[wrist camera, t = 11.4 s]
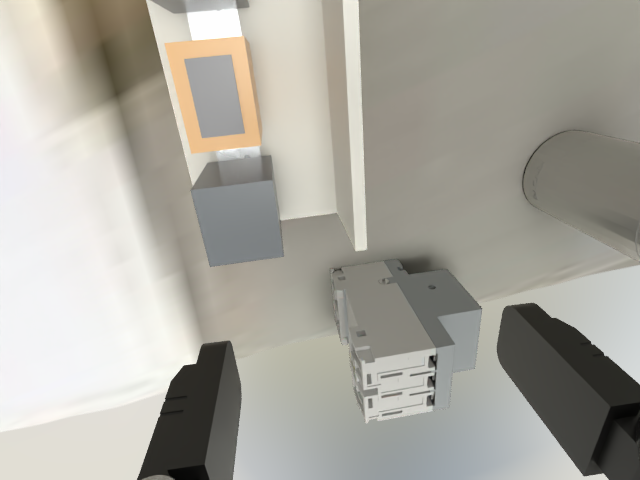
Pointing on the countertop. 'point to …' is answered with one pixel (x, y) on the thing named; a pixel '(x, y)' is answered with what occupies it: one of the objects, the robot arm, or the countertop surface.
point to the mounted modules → (234, 189)
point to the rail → (220, 27)
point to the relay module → (216, 93)
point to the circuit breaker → (404, 335)
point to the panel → (297, 103)
